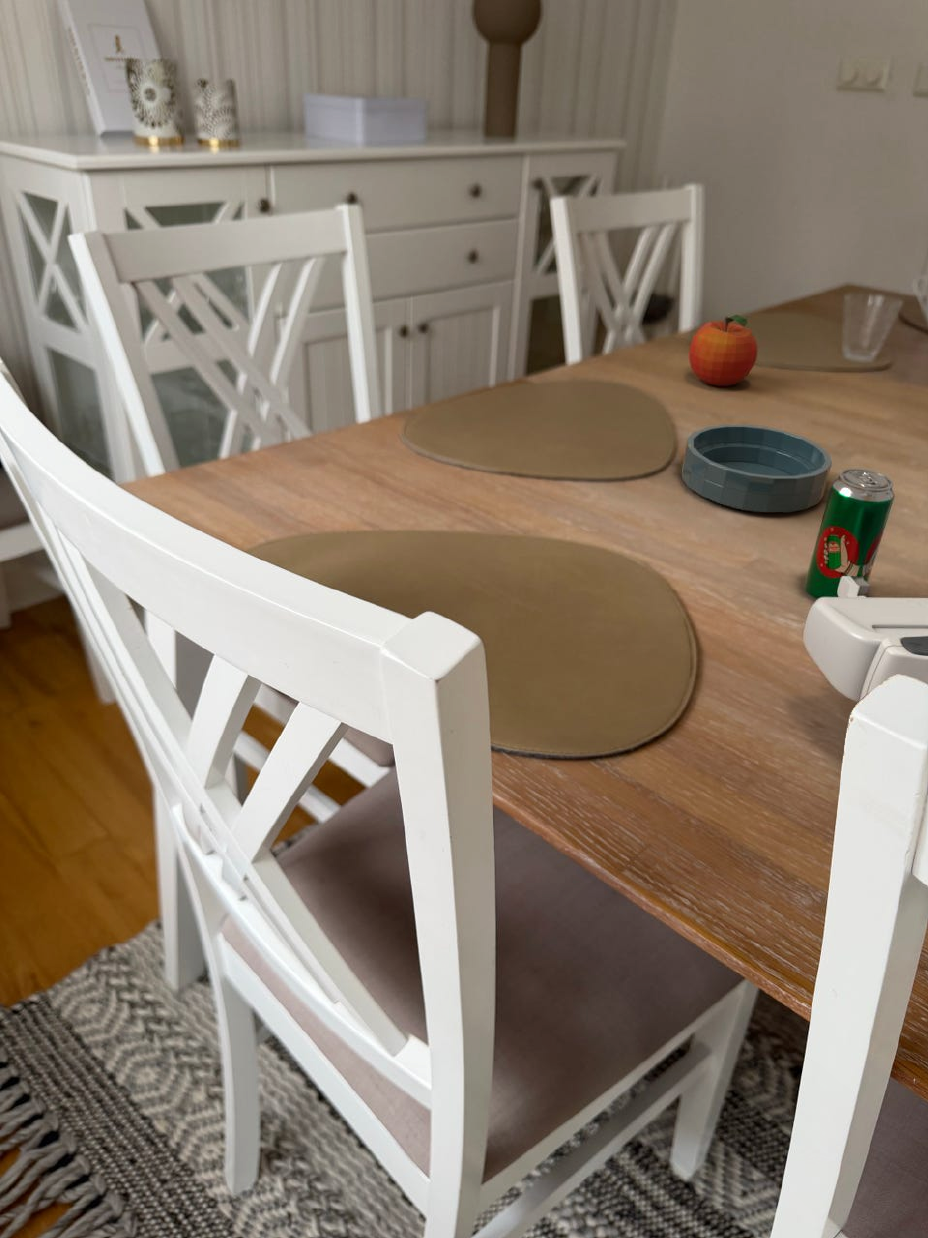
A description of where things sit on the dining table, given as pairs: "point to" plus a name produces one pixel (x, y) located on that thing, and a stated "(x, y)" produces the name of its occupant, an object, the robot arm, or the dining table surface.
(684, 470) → the bowl
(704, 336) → the fruit
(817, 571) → the soda can
